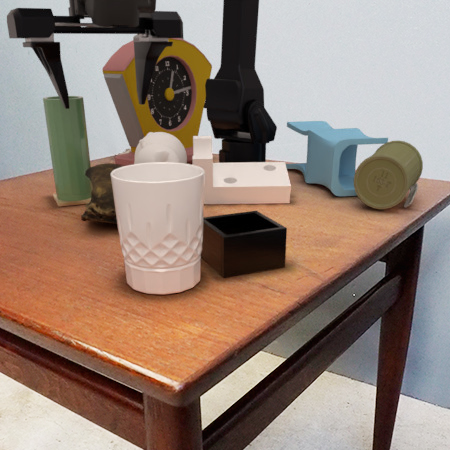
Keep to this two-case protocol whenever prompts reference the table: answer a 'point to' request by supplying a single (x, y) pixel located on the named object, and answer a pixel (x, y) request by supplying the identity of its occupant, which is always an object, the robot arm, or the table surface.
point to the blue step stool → (331, 155)
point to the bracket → (240, 178)
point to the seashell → (101, 194)
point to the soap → (125, 151)
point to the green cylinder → (68, 147)
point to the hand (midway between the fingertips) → (105, 106)
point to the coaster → (68, 203)
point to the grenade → (389, 175)
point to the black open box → (243, 243)
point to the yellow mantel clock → (159, 94)
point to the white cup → (160, 224)
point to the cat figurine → (160, 149)
